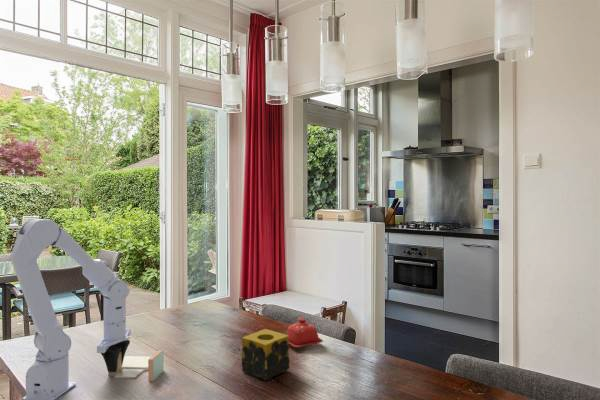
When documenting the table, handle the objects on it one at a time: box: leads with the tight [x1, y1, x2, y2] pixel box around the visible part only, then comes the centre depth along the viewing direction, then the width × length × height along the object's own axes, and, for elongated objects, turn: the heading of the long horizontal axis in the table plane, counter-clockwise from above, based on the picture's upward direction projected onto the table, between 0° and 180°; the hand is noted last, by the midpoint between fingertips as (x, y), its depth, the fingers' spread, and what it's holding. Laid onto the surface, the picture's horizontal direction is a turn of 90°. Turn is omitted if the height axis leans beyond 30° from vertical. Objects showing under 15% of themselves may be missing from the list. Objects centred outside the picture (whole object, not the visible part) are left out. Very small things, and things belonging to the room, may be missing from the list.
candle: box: [241, 328, 290, 381], centre depth 119 cm, size 10×10×10 cm
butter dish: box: [286, 317, 324, 348], centre depth 143 cm, size 12×12×8 cm
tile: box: [147, 349, 165, 382], centre depth 115 cm, size 7×1×6 cm, turn 175°
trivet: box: [122, 355, 151, 372], centre depth 123 cm, size 8×12×1 cm, turn 85°
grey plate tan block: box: [107, 352, 145, 380], centre depth 116 cm, size 5×8×6 cm, turn 85°
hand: (114, 369), depth 116 cm, fingers closed on grey plate tan block, 2 cm apart
